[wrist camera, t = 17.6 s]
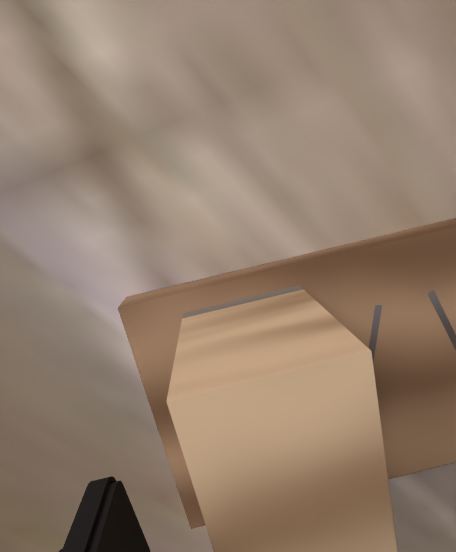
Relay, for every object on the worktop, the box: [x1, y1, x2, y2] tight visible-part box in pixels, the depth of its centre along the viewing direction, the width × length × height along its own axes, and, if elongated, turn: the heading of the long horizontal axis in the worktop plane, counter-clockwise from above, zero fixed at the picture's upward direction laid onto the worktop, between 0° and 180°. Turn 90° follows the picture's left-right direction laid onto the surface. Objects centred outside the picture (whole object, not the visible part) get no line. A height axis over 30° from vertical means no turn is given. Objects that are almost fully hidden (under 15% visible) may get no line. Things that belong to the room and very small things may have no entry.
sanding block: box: [166, 286, 397, 552], centre depth 11 cm, size 8×5×6 cm, turn 13°
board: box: [118, 218, 456, 529], centre depth 15 cm, size 12×22×2 cm, turn 103°
